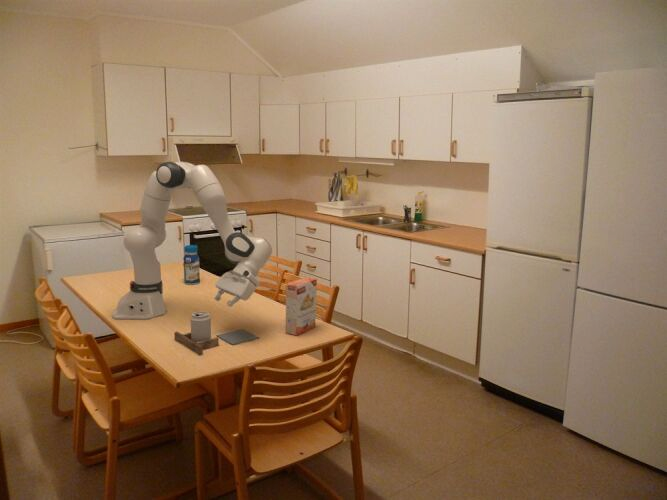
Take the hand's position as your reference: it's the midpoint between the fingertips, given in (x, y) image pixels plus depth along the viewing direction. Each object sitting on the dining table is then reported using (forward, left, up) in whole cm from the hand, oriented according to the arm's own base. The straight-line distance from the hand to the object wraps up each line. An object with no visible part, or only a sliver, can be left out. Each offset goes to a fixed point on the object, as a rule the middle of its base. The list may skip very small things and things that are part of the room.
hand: (222, 302), depth 219 cm
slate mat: (+6, -1, -14) cm, 15 cm away
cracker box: (+32, +3, -15) cm, 35 cm away
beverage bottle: (-12, +85, -15) cm, 88 cm away
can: (-8, -5, -15) cm, 17 cm away
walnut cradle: (-8, -5, -14) cm, 17 cm away
